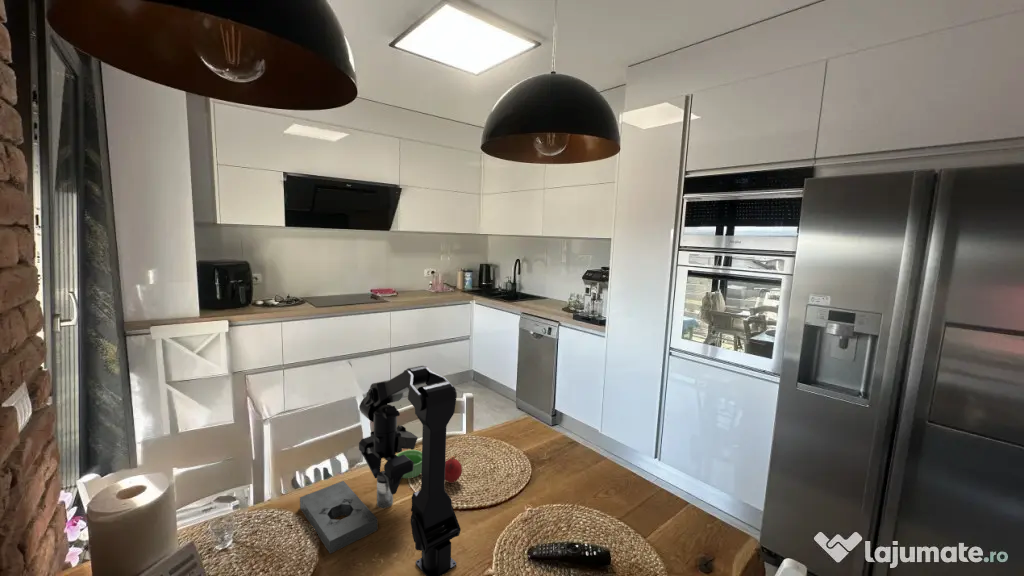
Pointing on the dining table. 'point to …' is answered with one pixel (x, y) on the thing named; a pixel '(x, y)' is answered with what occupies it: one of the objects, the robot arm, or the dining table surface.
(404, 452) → the ramekin
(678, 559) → the dining table surface
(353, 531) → the jig
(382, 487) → the metal cylinder peg
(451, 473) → the onion
